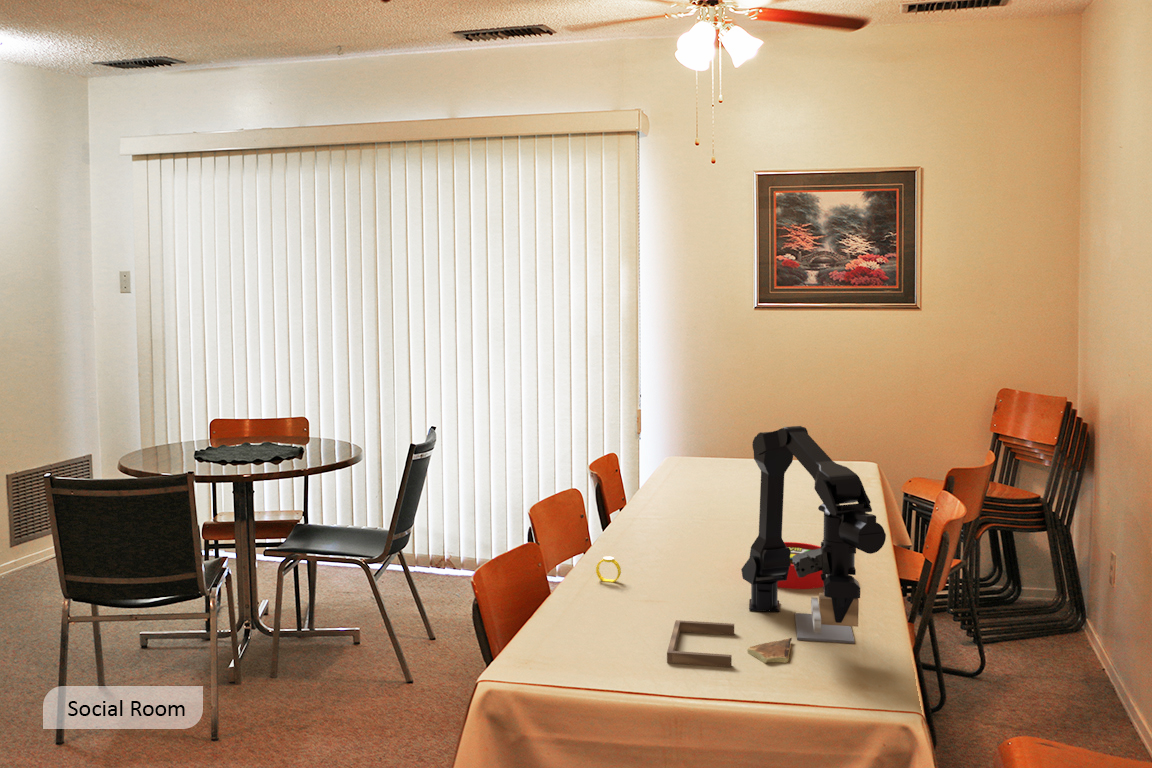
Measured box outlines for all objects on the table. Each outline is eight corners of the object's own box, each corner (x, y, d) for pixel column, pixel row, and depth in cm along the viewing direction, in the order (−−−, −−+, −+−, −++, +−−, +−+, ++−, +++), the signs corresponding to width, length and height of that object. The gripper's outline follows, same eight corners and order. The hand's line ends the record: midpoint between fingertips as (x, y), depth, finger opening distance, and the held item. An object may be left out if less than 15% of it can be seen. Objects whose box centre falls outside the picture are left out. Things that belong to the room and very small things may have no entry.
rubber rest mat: (795, 615, 194) (795, 612, 194) (848, 618, 191) (848, 615, 191) (797, 639, 180) (797, 637, 180) (854, 643, 178) (854, 641, 178)
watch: (621, 582, 218) (622, 558, 218) (617, 585, 216) (619, 561, 215) (598, 577, 221) (599, 554, 220) (594, 581, 218) (595, 557, 217)
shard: (791, 644, 179) (791, 636, 179) (816, 658, 172) (816, 649, 172) (745, 654, 175) (745, 645, 175) (769, 669, 168) (769, 659, 168)
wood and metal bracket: (811, 609, 178) (811, 585, 177) (854, 612, 176) (854, 587, 176) (814, 632, 166) (814, 606, 166) (860, 635, 165) (861, 608, 164)
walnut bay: (675, 629, 187) (675, 620, 186) (734, 633, 184) (734, 623, 184) (667, 662, 170) (666, 652, 170) (731, 667, 168) (731, 656, 167)
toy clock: (783, 537, 234) (851, 553, 219) (783, 559, 234) (851, 577, 219) (733, 552, 221) (802, 571, 206) (733, 575, 222) (801, 596, 206)
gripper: (793, 524, 180) (792, 599, 182) (796, 551, 162) (795, 634, 164) (851, 526, 178) (850, 602, 180) (861, 554, 160) (859, 638, 161)
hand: (837, 618), depth 171 cm, fingers closed on wood and metal bracket, 3 cm apart
